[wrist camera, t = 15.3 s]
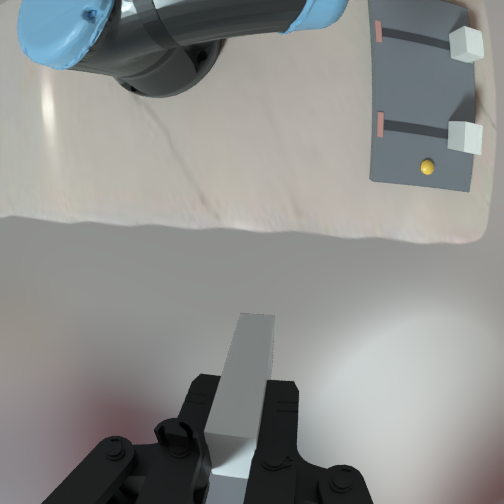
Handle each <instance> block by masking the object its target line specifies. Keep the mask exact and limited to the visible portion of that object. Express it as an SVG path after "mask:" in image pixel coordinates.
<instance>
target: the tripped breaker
mask: <svg viewBox="0 0 504 504" xmlns="http://www.w3.org/2000/svg"><path fill="white" fill-rule="evenodd" d="M481 146H482V125H478V124H474V123H470V122H464V121H449V127H448V149H453V150H457V151H462V152H467V153H472V154H477V155H481Z"/></svg>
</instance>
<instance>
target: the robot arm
mask: <svg viewBox="0 0 504 504" xmlns="http://www.w3.org/2000/svg"><path fill="white" fill-rule="evenodd" d="M348 1H349V0H22V3H21V7H20V10H19V15H18V23H17V34H18V40H19V44H20V47H21V49H22V51H23V52H24V54H25V55H27V56H28V58H30V60H31V61H33V62H35V63H38V64H41V65H45V66H48V67H51V68H53V69H57V70H63V69H68V70H76V71H83V72H90V73H97V74H103V75H109V76H113V77H114V78H115V79H116V81H117V82H118V83H119V84H120V85H121V86H122V87H124V88H125V89H126V90H128V91H130V92H132V93H134V94H137V95H140V96H146V97H152V98H164V97H170V96H174V95H177V94H180V93H182V92H184V91H186V90H188V89H190V88H191V87H193V86H194V85H196V84H197V83H198V82H199V81H200V80H201V79H202V78H203V77H204V76H205V75H206V74H207V73H208V72H209V70H210V69H211V67H212V66H213V64H214V62H215V60H216V58H217V56H218V53H219V49H220V44H221V39H224V38H231V37H237V36H245V35H253V34H261V33H272V32H278V33H279V34H288V33H291V32H293V31H299V30H312V29H322V28H326V27H328V26H330V25H331V24H332V23H335V22H336V21H337V20H338V19H339V18H340V17H341V16H342V14H343V12H344V10H345V8H346V6H347V3H348ZM274 318H275V316H274V315H264V314H249V313H240V317H239V320H238V323H237V327H236V330H235V333H234V336H233V340H232V343H231V346H230V349H229V353H228V356H227V359H226V362H225V366H224V369H223V372H222V375H221V376H216V375H208V374H200V375H199V376H198V377H197V378H196V379H195V380H193V381H192V383H191V385H190V388H189V391H188V394H187V395H186V398H185V402H184V403H183V405H182V408H181V411H180V413H179V415H178V418H171V419H167V420H164V421H162V422H161V423H159V424H158V425H157V426H156V428H155V429H154V432H155V434H156V437H157V439H158V443H155V444H146V445H145V444H143V445H132V443H131V442H130V441H129V440H128V439H126V438H124V437H121V436H111V437H108V438H105V439H103V440H102V441H101V442H99V444H98V445H97V446H96V447H95V448H94V449H93V450H92V451H91V452H90V453H89V454H88V455H87V456H86V457H85V458H84V460H83V461H82V462H81V463H80V464H79V465H78V466H77V467H76V468H75V469H74V470H73V471H72V472H71V473H70V474H69V475H68V477H66V479H65V480H64V481H63V482H62V483H61V484H60V485H59V486H58V487H57V488H56V489H55V490H54V491H53V492H52V493H51V494H50V495H49V496H48V497H47V498H46V500H44V501H43V502H42V504H205V502H206V499H207V495H208V491H209V476H210V472H211V469H212V473H213V474H217V475H223V476H224V475H225V476H231V477H238V478H239V477H240V478H248V482H247V487H246V493H245V498H244V503H243V504H373V501H372V499H371V496H370V494H369V491H368V488H367V486H366V483H365V481H364V478H363V476H362V475H361V473H360V472H359V471H358V470H357V469H355V468H354V467H352V466H348V465H335V466H332V467H330V468H328V469H326V468H322V467H319V466H316V465H313V464H310V463H308V462H307V461H305V460H304V459H303V458H302V457H301V456H300V455H299V453H298V450H297V428H298V403H299V390H298V388H297V387H296V385H295V383H294V381H279V380H270V378H271V371H272V364H273V345H274V344H273V343H274Z"/></svg>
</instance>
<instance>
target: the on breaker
mask: <svg viewBox="0 0 504 504" xmlns="http://www.w3.org/2000/svg"><path fill="white" fill-rule="evenodd" d="M449 40H450V51H451V58H452V59H456V60H459V61H463V62H466V63H468V62H471V61H475V60H478V59H482V58H484V51H483V41H482V33H481V31H478V30H475V29H472V28H469V27H466V26H463V27H461V28H459V29H457V30H456V31H454V32H452V33H450V34H449Z"/></svg>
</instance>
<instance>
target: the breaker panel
mask: <svg viewBox="0 0 504 504" xmlns="http://www.w3.org/2000/svg"><path fill="white" fill-rule="evenodd" d="M368 7H369V20H370V35H371V55H372V141H371V163H370V180H371V181H373V182H382V183H393V184H404V185H413V186H423V187H431V188H440V189H448V190H455V191H463V192H469V191H470V183H471V174H472V163H473V154H472V153H467V152H462V151H457V150H453V149H448V127H449V121H464V122H470V123H474V124H475V82H474V63H473V61H471V62H468V63H466V62H463V61H459V60H456V59H452V58H451V51H450V40H449V34H450V33H452V32H454V31H456V30H457V29H459V28H461V27H463V26H466V27H469V28H470V24H469V17H468V11H467V8H464V7H461V6H458V5H455V4H451V3H448V2H445V1H442V0H368Z"/></svg>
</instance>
